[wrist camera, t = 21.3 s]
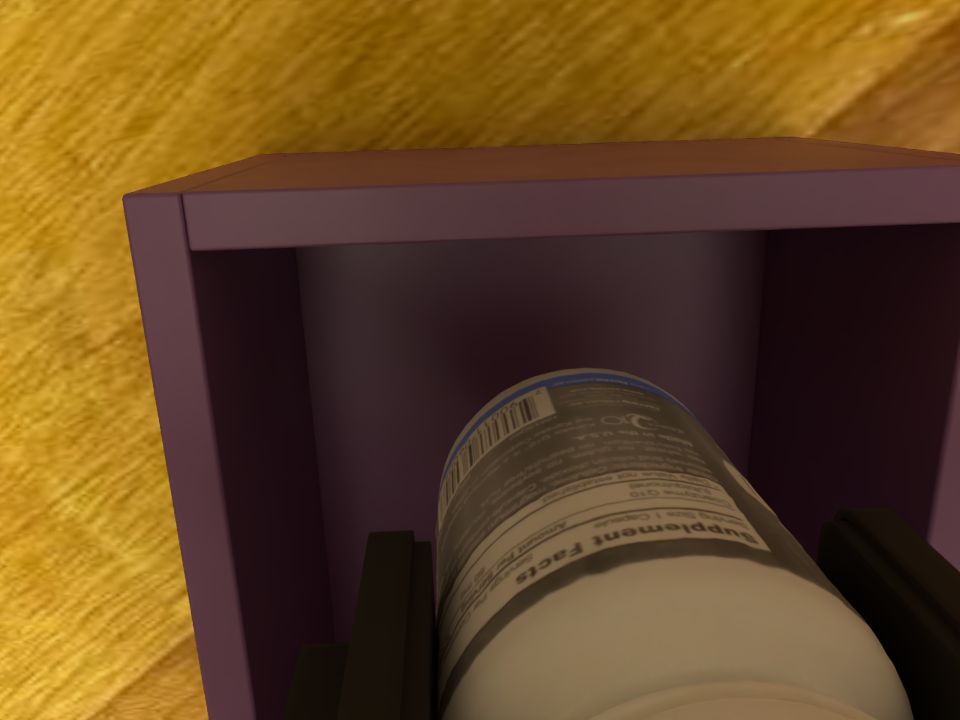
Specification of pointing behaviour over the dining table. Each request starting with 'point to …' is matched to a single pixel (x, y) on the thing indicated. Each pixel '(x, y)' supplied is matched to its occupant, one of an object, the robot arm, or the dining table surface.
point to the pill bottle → (631, 573)
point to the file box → (527, 345)
